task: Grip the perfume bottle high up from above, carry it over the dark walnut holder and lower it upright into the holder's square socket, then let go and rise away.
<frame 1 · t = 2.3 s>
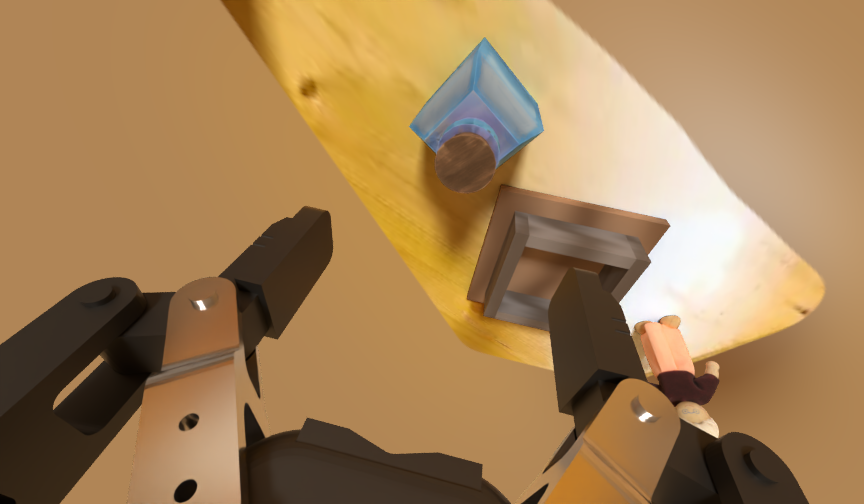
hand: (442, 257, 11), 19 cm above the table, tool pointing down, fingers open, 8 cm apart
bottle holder: (551, 262, 34), on the table
grandmother figurine: (651, 325, 37), on the table
perfume bottle: (480, 102, 26), on the table
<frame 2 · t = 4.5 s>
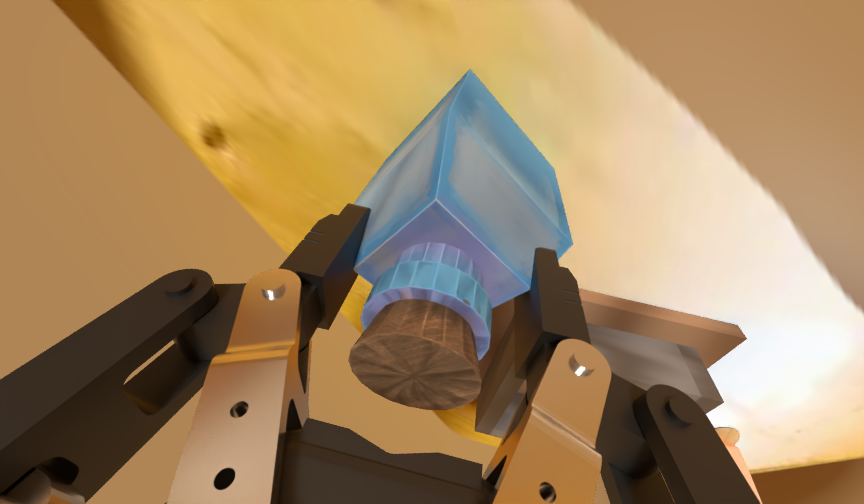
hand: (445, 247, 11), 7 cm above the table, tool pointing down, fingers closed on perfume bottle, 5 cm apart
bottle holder: (567, 360, 25), on the table
grandmother figurine: (697, 433, 28), on the table
perfume bottle: (466, 163, 17), on the table, touching gripper
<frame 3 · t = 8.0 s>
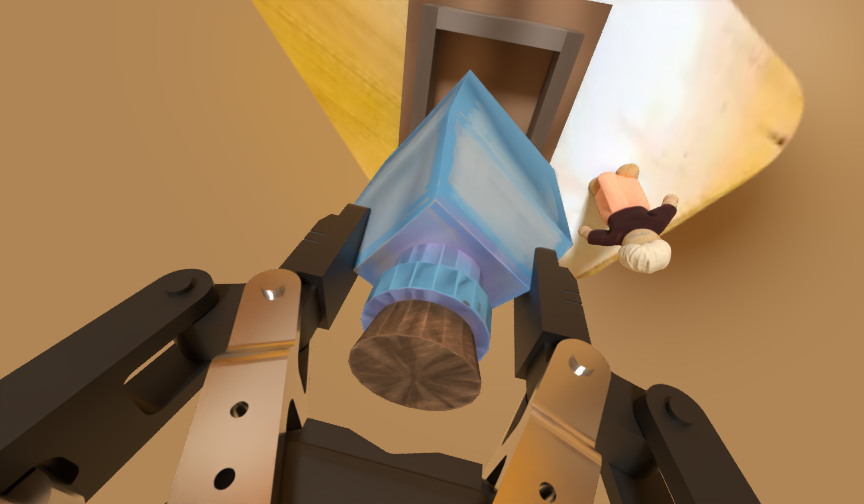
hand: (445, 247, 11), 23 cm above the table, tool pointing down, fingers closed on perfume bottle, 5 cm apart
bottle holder: (485, 92, 29), on the table
grandmother figurine: (607, 183, 32), on the table
perfume bottle: (466, 163, 17), point 16 cm above the table, touching gripper
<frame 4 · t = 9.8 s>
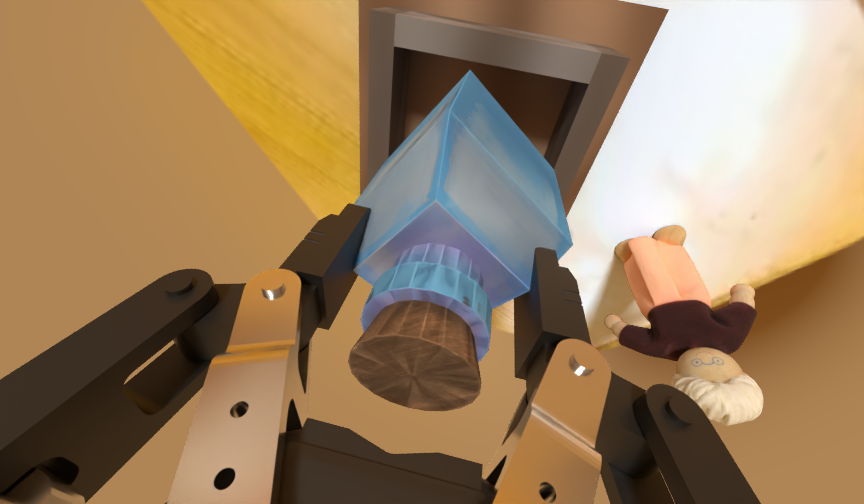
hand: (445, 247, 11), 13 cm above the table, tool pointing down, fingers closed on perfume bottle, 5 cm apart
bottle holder: (475, 130, 21), on the table
grandmother figurine: (640, 247, 24), on the table
perfume bottle: (466, 163, 17), point 5 cm above the table, touching gripper
when the fingers open (9 cm above the table, at t = 11.4 s): perfume bottle drops 1 cm, resting on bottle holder.
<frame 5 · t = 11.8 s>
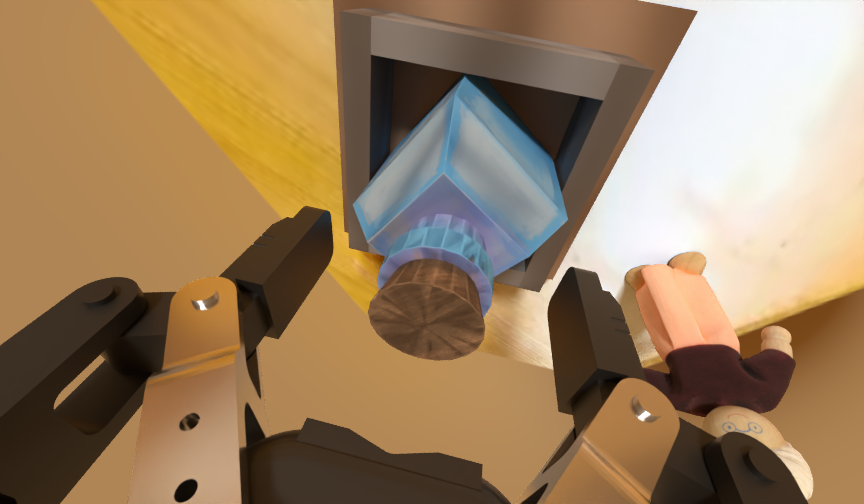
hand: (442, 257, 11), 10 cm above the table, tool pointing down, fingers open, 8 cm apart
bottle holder: (470, 147, 18), on the table
grandmother figurine: (654, 273, 22), on the table
perfume bottle: (469, 152, 18), point 1 cm above the table, touching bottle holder
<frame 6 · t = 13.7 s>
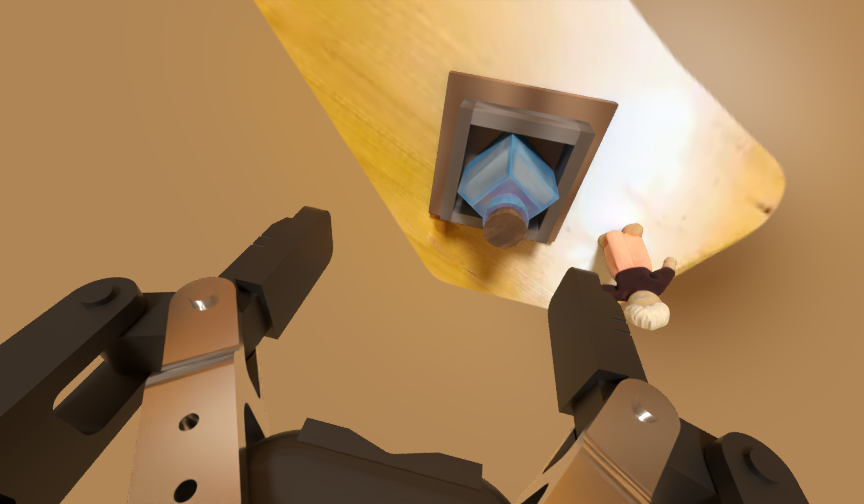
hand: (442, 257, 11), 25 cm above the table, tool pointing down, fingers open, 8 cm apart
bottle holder: (508, 163, 34), on the table
grandmother figurine: (615, 238, 36), on the table
perfume bottle: (508, 166, 33), point 1 cm above the table, touching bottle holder
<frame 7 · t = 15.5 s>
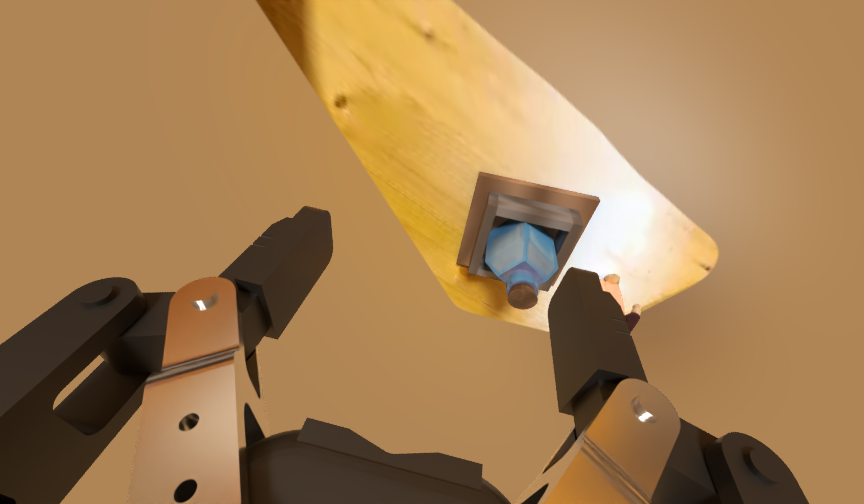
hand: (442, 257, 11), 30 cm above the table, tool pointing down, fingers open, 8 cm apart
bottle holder: (519, 231, 45), on the table
grandmother figurine: (599, 283, 48), on the table
perfume bottle: (519, 234, 44), point 1 cm above the table, touching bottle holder
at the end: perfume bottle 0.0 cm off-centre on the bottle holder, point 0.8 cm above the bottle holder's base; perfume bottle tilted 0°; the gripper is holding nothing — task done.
